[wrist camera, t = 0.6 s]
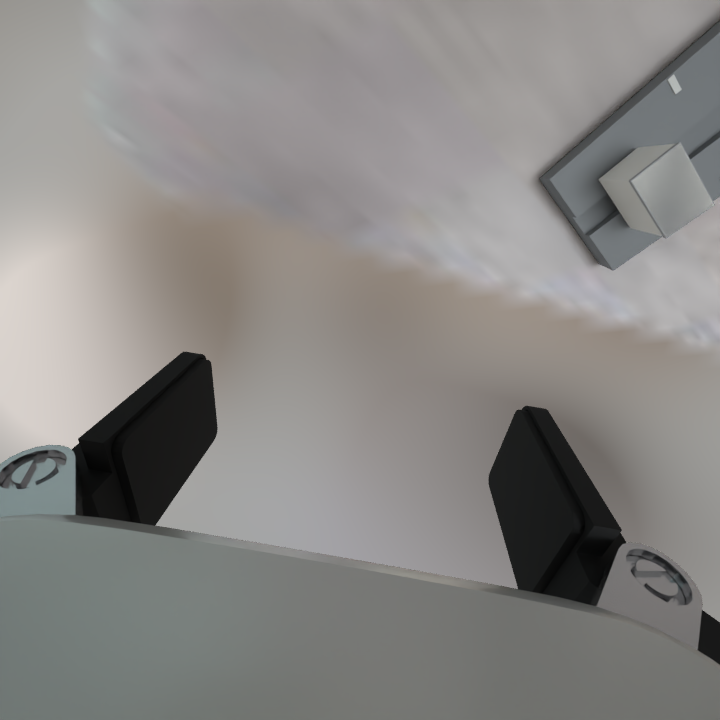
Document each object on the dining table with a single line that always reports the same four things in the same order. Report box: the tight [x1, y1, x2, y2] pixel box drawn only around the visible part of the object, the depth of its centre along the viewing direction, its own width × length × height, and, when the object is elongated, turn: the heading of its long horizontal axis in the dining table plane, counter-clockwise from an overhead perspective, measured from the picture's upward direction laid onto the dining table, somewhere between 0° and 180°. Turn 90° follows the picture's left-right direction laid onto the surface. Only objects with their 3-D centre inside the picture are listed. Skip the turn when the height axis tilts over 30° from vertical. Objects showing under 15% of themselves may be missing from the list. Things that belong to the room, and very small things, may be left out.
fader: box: [599, 142, 715, 238], centre depth 26 cm, size 3×5×5 cm, turn 45°
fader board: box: [540, 21, 720, 271], centre depth 26 cm, size 18×10×4 cm, turn 135°
